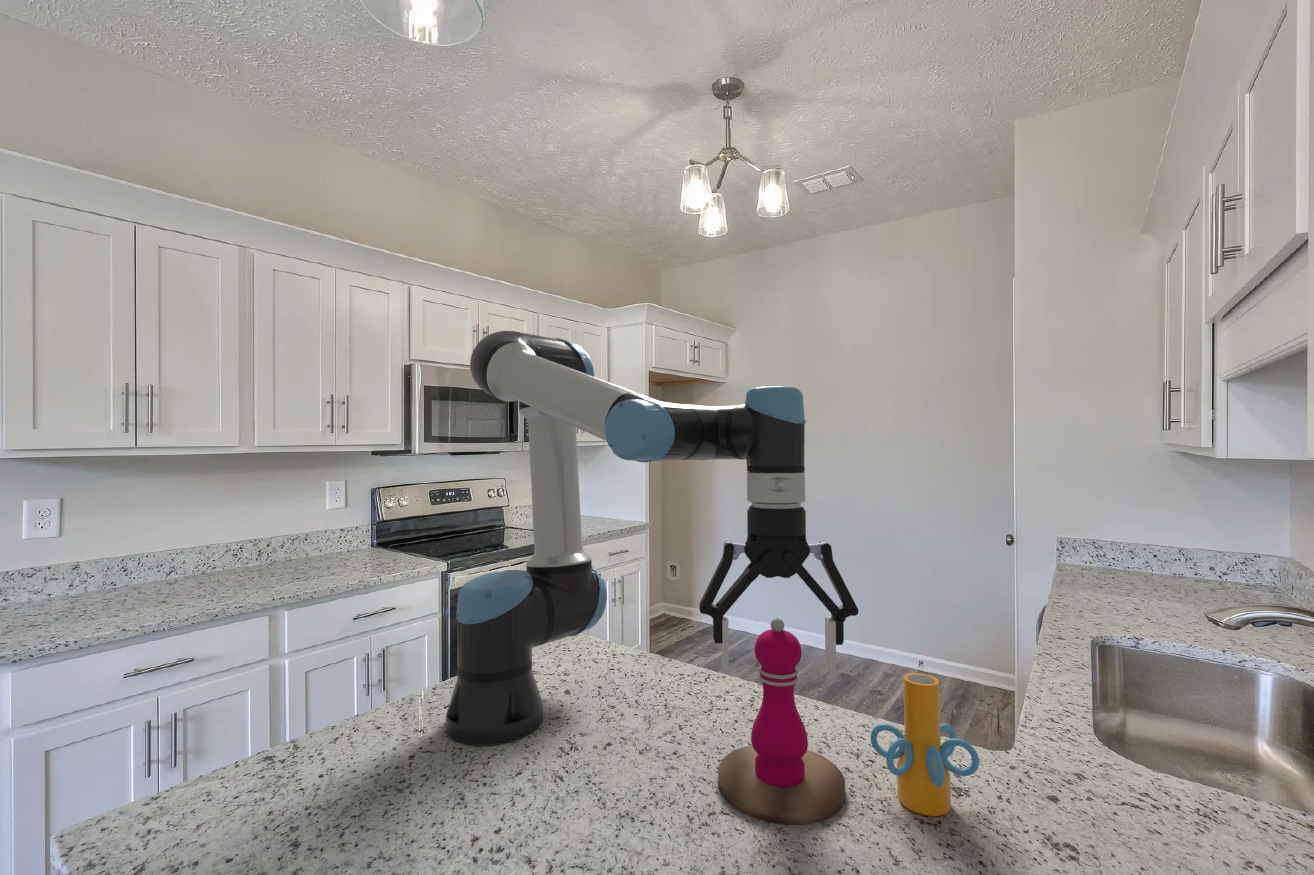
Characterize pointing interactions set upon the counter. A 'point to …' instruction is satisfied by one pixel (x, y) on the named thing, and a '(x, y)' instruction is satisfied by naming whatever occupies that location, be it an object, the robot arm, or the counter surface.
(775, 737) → the pepper mill
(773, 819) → the walnut board
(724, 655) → the robot arm
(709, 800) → the counter surface
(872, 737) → the cylinder
